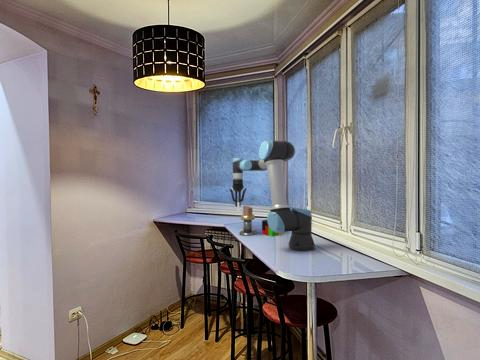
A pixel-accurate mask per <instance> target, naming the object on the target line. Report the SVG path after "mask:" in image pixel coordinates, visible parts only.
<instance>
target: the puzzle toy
mask: <svg viewBox="0 0 480 360" xmlns="http://www.w3.org/2000/svg"><path fill="white" fill-rule="evenodd" d="M261 234H262V235H263V236H270V237H275V236H276V237H277V236H281V235H283V232H281V233H280V232H273V231H272V230H271V229H270V227H269V225H268V222H267V219H264V220H261Z"/></svg>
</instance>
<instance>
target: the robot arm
mask: <svg viewBox="0 0 480 360" xmlns="http://www.w3.org/2000/svg"><path fill="white" fill-rule="evenodd" d="M295 153H296V148H295V146H294V145H293V144H292V143H291V142H290V141H287V140H272V139H271V140H264V141H263V142H261V144H260V147H259V150H258V155H259V156H258V157H259V158H260V159H257V160H255V159H254V160H253V159H251V160H248V159H244V158H242V157H234V158H233V157H232V185H231V187H230V188H229V189H228V190H229V192H230V196H231V198H232V201H233V202H235V204H234V205H235V207H236V211H237V212H240V207H242V206H241V203H242V202H244V198H245V196H246V195H245V194H246V191H247V188H246V187H245V186H244V180H243V179H244V175H243V174H244V172H253V171H255V172H264V171H267V174H268V183H269V190H270V198H271V204H272V206H271V208H270V212H269V213H268V214H267V217H266V220H267V222H268V225H269V227H270V229H271V230H272V231H273V232H280V233H281V232H282V233H285V232H286V233H287V232H291V234H290V238H289V241H288V248H289V249H291V250H295V251H312V250H314V249H315V248H316V246H315V240H314V239H313V236H312V235H313V234H312V233H313V231H312V230H313V229H312V228H313V227H312V224H313V223H312V222H313V221H312V218H313V216H312V210H310V209H306V208H298V207H297V208H296V207H292V208H291V207H290V205H288V201H287V193H286V186H285V178H284V173H283V163H285V162H287V161H290V160H292V159H293V158H294V156H295ZM233 190H234V192H233Z"/></svg>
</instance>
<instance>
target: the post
mask: <svg viewBox="0 0 480 360" xmlns="http://www.w3.org/2000/svg"><path fill="white" fill-rule="evenodd" d="M252 221H253V220H243V229H242V228H239V229H240V231H239V232H238V233H239V236H242V237H243V236H244V237H252V236H256V235H257V232H256V228H255V227H253V222H252Z"/></svg>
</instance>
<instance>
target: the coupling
mask: <svg viewBox="0 0 480 360" xmlns="http://www.w3.org/2000/svg"><path fill="white" fill-rule="evenodd" d="M255 217H256V215H255V214H253V207H251V206H249V205H242V214H240V220H243V221H244V220H252V221H253V220H255V219H256V218H255Z"/></svg>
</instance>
